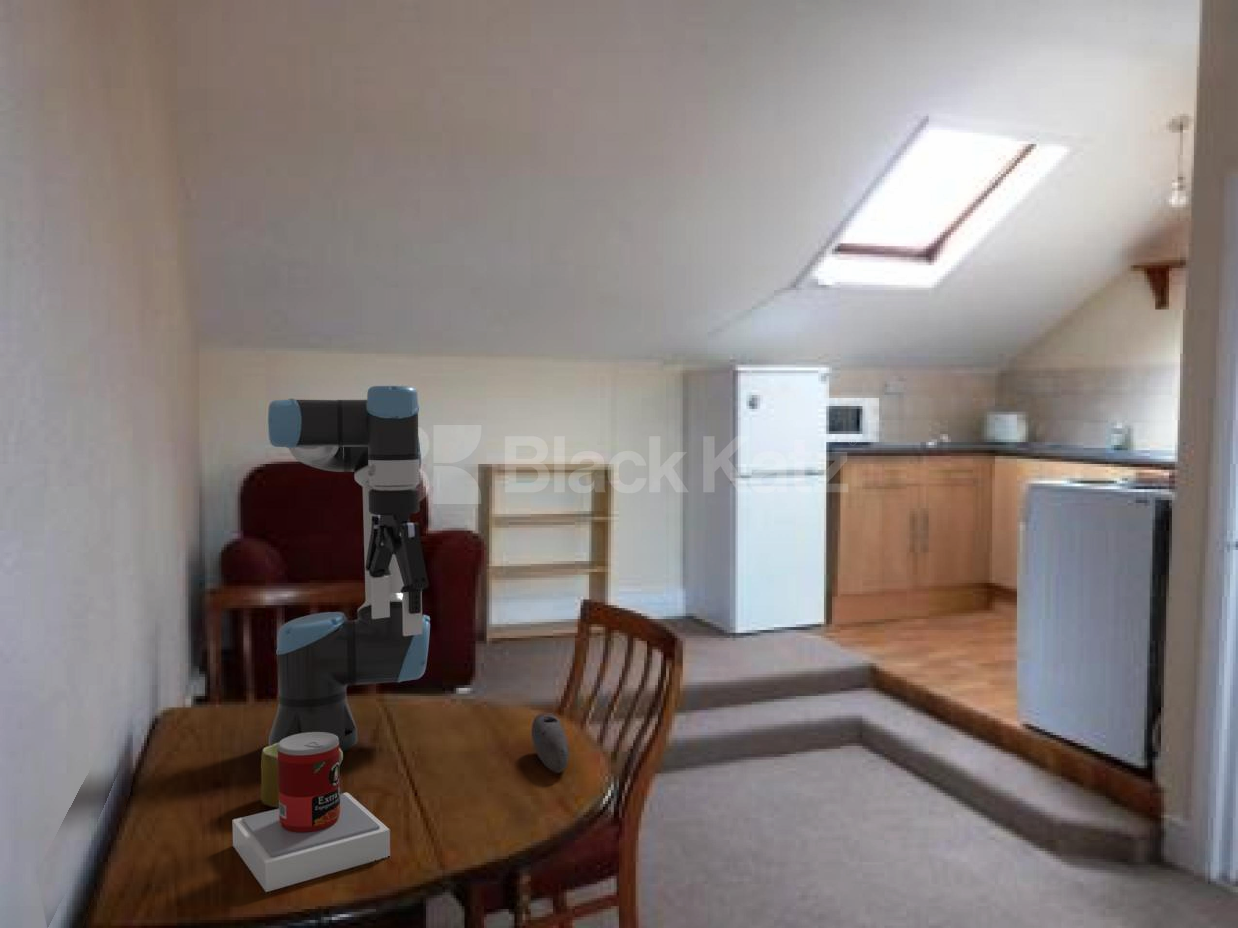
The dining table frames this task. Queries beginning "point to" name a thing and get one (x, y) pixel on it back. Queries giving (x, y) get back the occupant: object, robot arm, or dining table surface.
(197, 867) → the dining table surface
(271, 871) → the tray
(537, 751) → the perforated stone tool
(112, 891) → the dining table surface
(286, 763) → the canned food
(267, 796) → the mug
